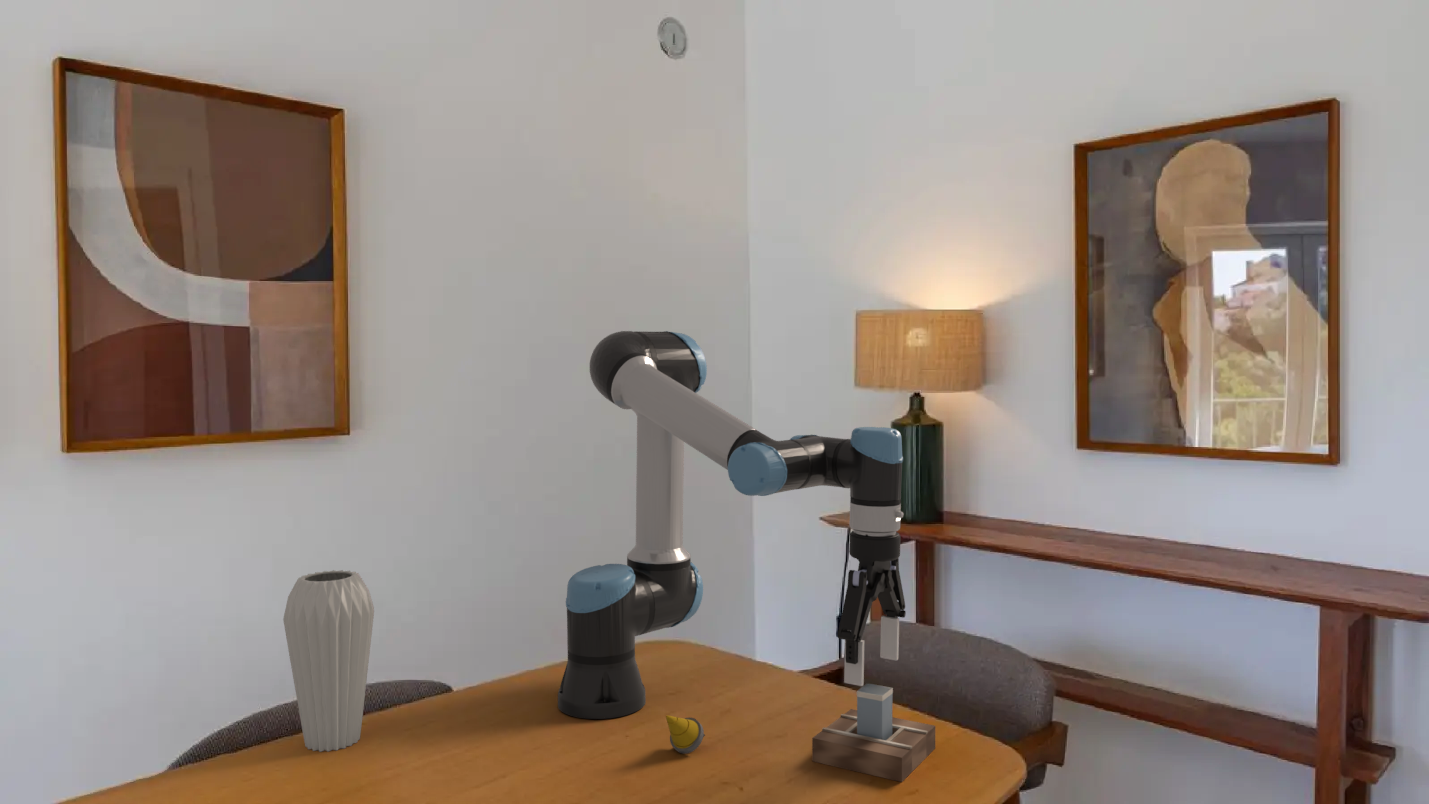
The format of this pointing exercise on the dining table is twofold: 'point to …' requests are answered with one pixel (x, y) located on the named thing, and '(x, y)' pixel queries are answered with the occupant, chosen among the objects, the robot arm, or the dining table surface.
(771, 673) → the dining table surface
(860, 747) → the socket block
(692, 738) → the yellow spinning top
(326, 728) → the vase
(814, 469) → the robot arm
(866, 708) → the peg
